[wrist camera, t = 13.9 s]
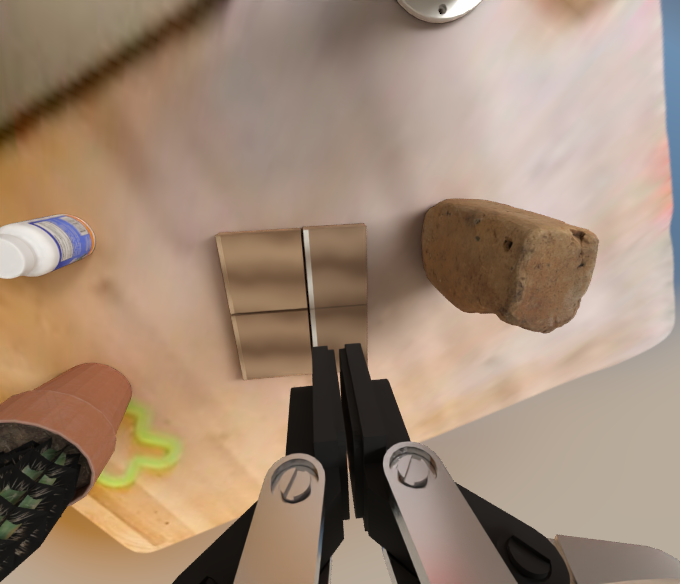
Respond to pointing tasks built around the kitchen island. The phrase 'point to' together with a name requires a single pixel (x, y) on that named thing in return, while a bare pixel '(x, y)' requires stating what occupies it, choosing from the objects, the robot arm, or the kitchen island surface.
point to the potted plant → (54, 452)
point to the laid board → (337, 285)
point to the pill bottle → (43, 245)
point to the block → (507, 262)
